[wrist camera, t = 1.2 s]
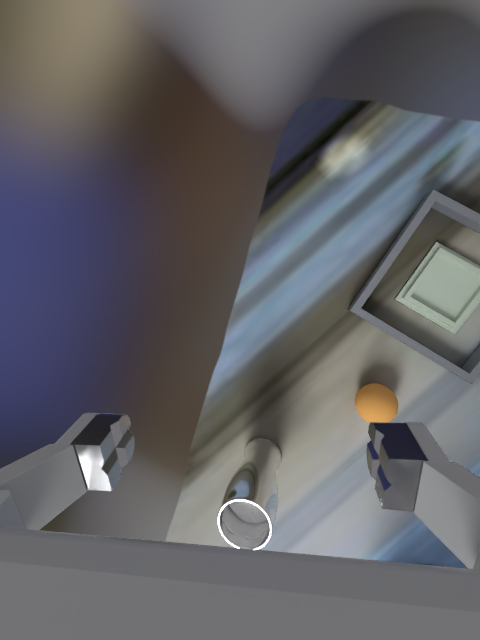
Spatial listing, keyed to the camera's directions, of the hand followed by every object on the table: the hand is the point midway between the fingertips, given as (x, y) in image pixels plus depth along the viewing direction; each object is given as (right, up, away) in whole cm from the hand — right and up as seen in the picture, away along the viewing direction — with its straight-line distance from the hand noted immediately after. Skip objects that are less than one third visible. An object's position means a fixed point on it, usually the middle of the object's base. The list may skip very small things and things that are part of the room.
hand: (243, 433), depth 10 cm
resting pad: (+28, +8, +31) cm, 42 cm away
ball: (+19, -8, +32) cm, 38 cm away
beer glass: (+4, -18, +40) cm, 44 cm away
